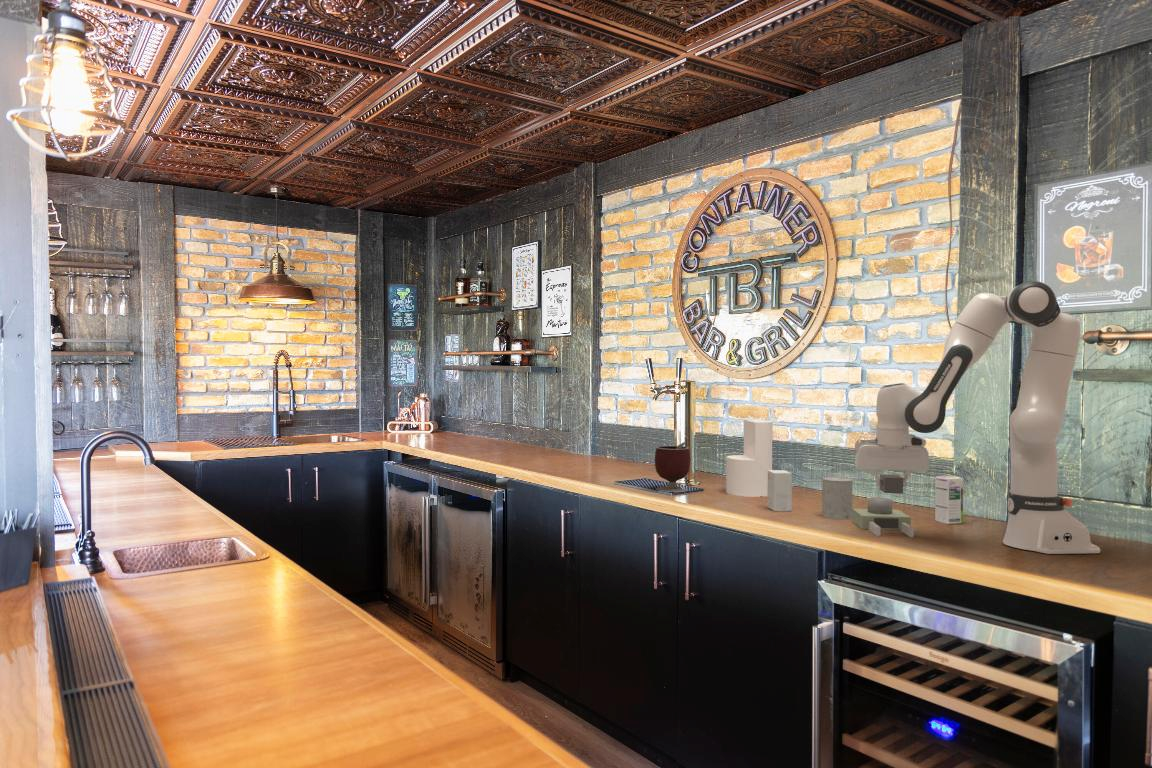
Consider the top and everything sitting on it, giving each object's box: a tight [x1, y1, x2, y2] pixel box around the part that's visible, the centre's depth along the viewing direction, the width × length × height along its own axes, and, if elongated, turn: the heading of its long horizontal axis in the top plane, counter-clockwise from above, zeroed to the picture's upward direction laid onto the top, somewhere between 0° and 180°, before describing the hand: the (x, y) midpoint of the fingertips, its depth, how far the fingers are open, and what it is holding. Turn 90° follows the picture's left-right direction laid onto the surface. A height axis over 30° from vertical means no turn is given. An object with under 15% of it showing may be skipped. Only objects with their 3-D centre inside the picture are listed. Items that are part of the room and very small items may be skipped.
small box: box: [766, 469, 793, 512], centre depth 259 cm, size 8×6×13 cm
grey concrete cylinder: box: [821, 476, 854, 520], centre depth 247 cm, size 10×10×12 cm
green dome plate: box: [851, 496, 915, 538], centre depth 228 cm, size 14×21×8 cm, turn 173°
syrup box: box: [934, 475, 964, 525], centre depth 238 cm, size 6×6×14 cm
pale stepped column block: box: [725, 419, 774, 498], centre depth 293 cm, size 17×17×28 cm
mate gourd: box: [654, 441, 691, 492], centre depth 298 cm, size 16×14×20 cm
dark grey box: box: [879, 473, 904, 495], centre depth 221 cm, size 5×7×4 cm
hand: (891, 485), depth 221 cm, fingers closed on dark grey box, 5 cm apart
